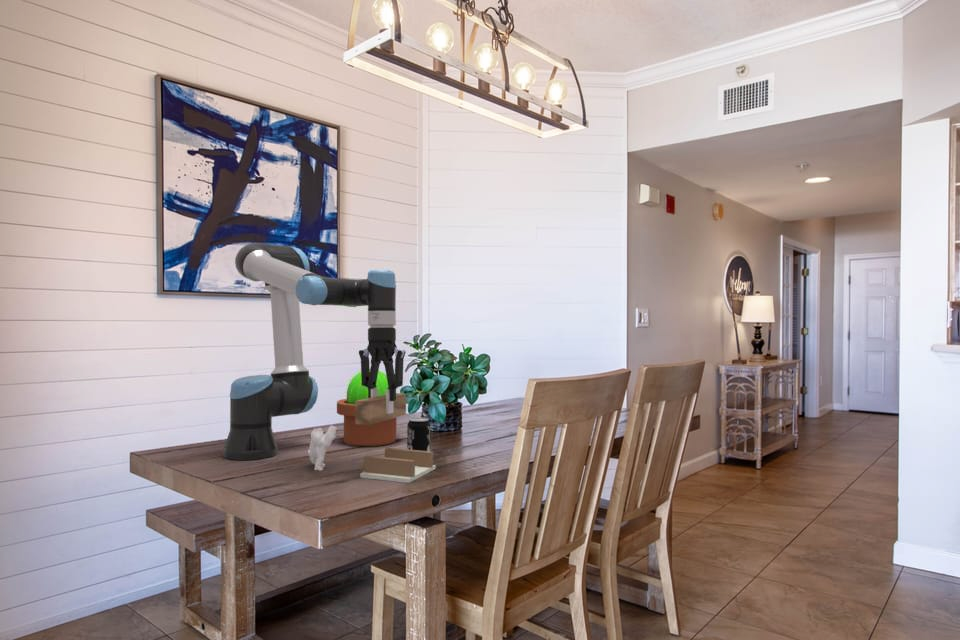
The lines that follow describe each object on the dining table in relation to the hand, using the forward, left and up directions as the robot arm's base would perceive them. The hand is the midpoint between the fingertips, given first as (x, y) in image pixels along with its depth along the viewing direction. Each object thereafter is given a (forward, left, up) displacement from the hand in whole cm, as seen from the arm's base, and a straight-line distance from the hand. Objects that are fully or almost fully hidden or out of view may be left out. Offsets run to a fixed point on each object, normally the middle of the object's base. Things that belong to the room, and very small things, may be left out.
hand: (382, 412), depth 166 cm
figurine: (-16, -4, -16) cm, 23 cm away
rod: (0, 0, -2) cm, 2 cm away
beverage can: (+4, +14, -16) cm, 22 cm away
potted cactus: (-23, +33, -16) cm, 43 cm away
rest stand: (+6, -1, -16) cm, 17 cm away
